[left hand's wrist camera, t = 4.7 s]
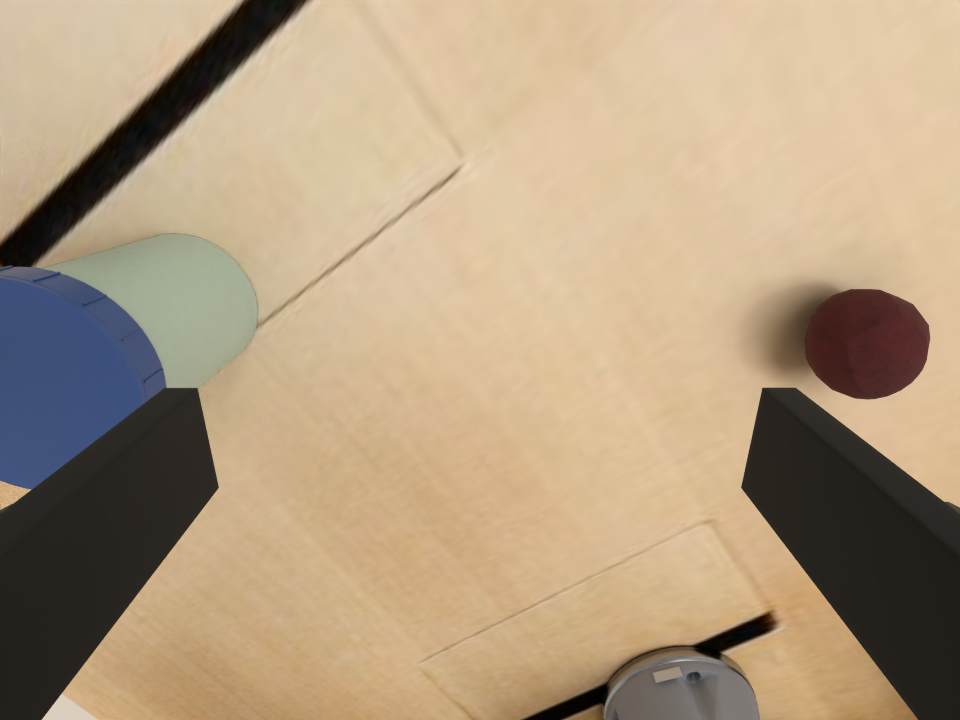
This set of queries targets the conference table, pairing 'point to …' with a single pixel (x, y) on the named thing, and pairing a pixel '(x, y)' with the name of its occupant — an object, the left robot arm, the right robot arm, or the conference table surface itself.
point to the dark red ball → (867, 343)
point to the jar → (177, 300)
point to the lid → (64, 370)
